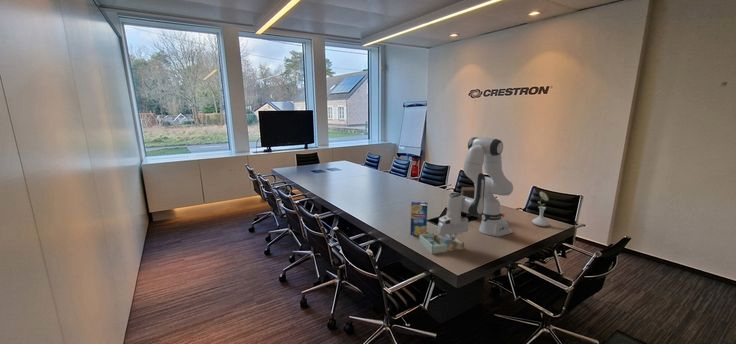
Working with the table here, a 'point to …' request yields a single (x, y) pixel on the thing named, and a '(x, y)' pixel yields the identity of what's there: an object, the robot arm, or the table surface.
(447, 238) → the tile
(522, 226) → the table surface
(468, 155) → the robot arm
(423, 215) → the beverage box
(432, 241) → the tile
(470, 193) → the photo frame
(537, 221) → the flower in vase
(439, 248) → the tray
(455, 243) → the beige shallow box
